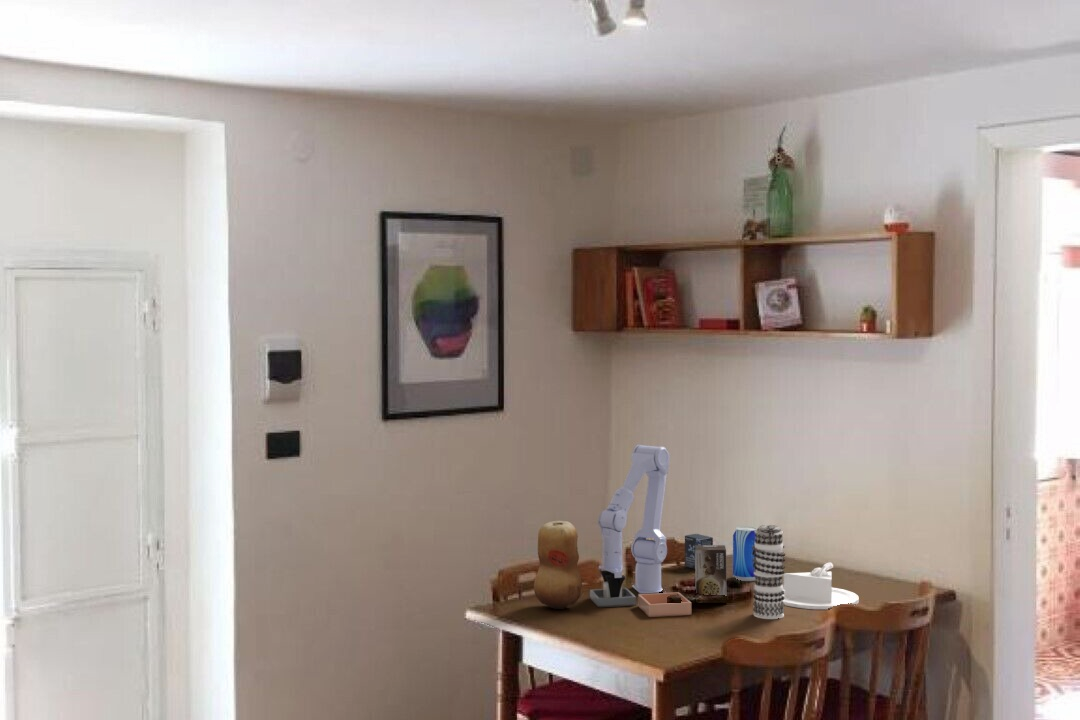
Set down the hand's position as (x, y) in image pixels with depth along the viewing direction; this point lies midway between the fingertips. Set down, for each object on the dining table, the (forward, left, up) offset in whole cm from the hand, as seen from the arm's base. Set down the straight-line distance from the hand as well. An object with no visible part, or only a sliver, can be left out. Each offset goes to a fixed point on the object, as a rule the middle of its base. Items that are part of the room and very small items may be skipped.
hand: (612, 597), depth 364 cm
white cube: (0, 0, -1) cm, 1 cm away
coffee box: (+6, +28, -2) cm, 29 cm away
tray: (0, 0, -1) cm, 1 cm away
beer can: (-20, +48, -2) cm, 52 cm away
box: (-38, +38, -2) cm, 54 cm away
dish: (+9, +59, -2) cm, 60 cm away
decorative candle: (+24, +39, -2) cm, 46 cm away
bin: (+13, +12, -1) cm, 18 cm away
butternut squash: (+4, -17, -2) cm, 18 cm away
